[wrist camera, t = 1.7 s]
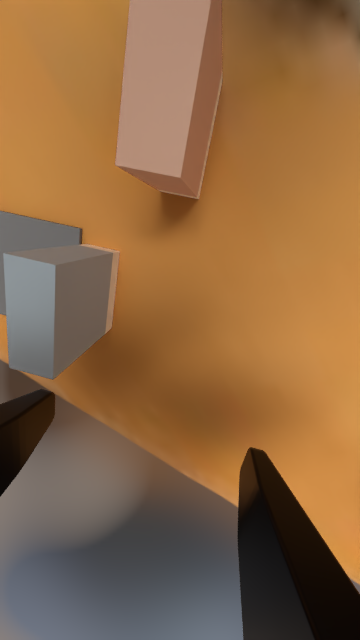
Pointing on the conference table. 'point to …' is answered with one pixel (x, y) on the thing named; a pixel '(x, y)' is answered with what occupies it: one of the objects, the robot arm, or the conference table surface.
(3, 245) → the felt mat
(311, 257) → the conference table surface
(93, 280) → the blue-grey block
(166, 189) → the terracotta block
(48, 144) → the conference table surface
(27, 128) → the conference table surface
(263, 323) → the conference table surface
